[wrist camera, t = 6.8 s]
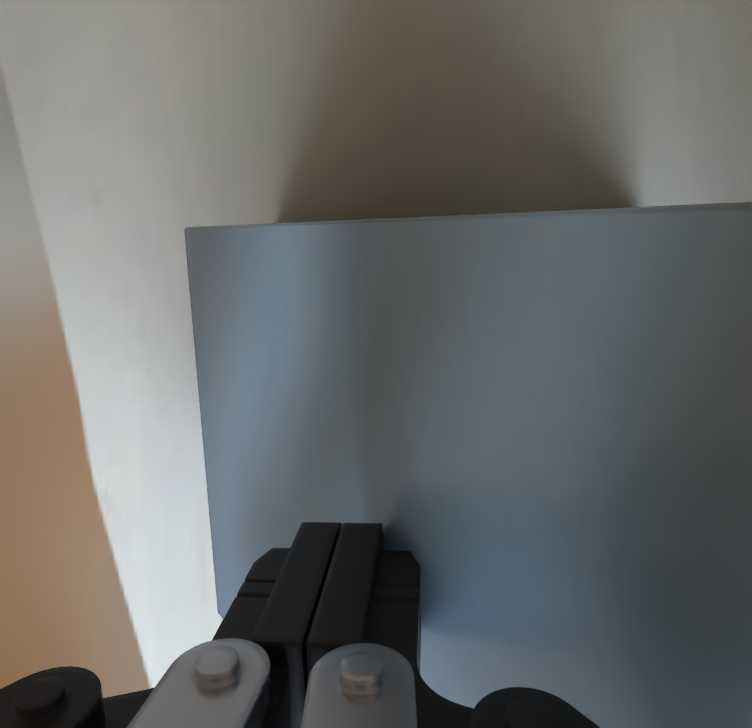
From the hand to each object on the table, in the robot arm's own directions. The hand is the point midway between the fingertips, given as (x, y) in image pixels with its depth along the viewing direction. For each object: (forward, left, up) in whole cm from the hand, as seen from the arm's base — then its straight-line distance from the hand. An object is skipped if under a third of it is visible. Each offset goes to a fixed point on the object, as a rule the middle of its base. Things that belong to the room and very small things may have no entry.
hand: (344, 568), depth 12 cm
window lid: (0, 0, -2) cm, 2 cm away
